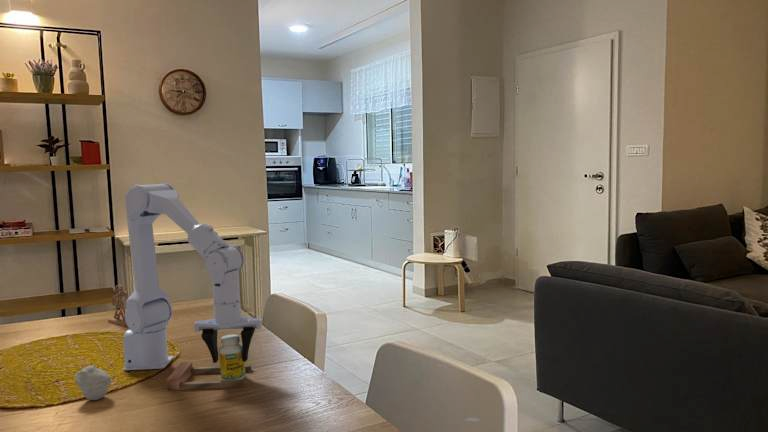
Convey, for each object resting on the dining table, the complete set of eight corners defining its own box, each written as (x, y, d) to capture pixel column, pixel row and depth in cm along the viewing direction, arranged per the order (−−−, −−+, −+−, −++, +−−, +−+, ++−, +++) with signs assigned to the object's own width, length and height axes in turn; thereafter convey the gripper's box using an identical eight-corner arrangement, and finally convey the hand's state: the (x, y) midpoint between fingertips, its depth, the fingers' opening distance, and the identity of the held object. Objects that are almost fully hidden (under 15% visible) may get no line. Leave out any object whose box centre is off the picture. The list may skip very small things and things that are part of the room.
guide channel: (167, 390, 124) (166, 379, 124) (181, 372, 134) (181, 362, 134) (242, 386, 125) (242, 375, 124) (251, 369, 135) (250, 359, 135)
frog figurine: (86, 393, 123) (84, 361, 123) (118, 393, 123) (116, 361, 122) (70, 405, 117) (67, 372, 117) (104, 405, 117) (101, 371, 116)
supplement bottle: (241, 372, 133) (238, 331, 132) (249, 378, 129) (246, 337, 128) (218, 377, 130) (214, 336, 129) (225, 385, 126) (222, 342, 125)
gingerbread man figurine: (107, 322, 180) (104, 284, 179) (119, 319, 183) (116, 282, 182) (123, 326, 175) (121, 287, 174) (135, 322, 178) (133, 284, 177)
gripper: (188, 307, 123) (192, 368, 125) (257, 304, 124) (260, 365, 126) (197, 299, 130) (201, 357, 132) (262, 296, 131) (265, 354, 133)
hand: (230, 360), depth 129 cm, fingers open, 6 cm apart
